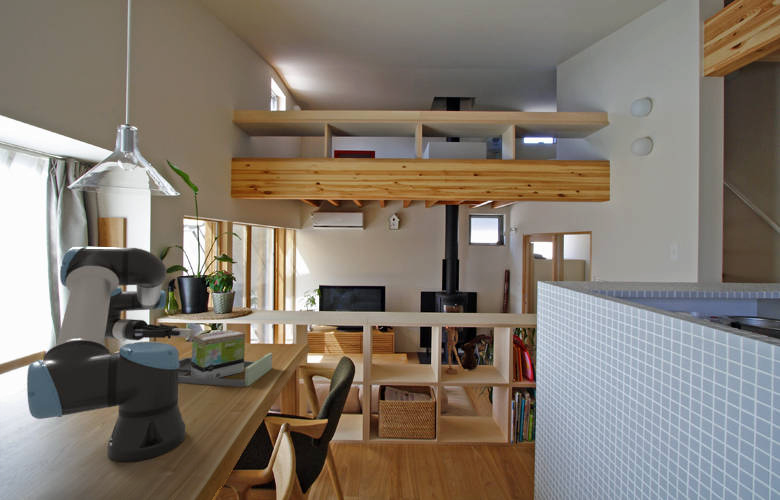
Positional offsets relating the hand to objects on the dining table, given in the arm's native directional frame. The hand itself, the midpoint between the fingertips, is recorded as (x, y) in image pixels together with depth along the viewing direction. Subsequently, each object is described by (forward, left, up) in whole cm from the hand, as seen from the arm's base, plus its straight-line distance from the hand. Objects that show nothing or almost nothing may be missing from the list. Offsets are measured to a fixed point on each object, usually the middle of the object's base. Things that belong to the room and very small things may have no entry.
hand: (189, 333), depth 132 cm
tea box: (-1, -12, -14) cm, 19 cm away
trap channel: (-1, -10, -14) cm, 17 cm away
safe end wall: (-1, -28, -14) cm, 31 cm away
